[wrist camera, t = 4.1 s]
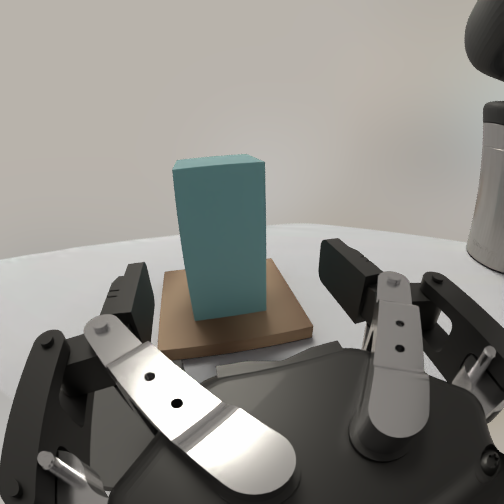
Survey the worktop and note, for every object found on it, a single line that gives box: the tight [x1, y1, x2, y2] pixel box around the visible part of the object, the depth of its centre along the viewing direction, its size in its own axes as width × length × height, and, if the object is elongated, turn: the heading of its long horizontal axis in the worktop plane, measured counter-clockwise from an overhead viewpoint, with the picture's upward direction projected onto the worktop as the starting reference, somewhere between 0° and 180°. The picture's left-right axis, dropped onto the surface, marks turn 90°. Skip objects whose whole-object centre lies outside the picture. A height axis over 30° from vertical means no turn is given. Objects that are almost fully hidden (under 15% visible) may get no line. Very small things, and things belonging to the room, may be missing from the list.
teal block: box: [172, 154, 266, 321], centre depth 18 cm, size 5×5×10 cm
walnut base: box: [158, 258, 313, 360], centre depth 20 cm, size 10×10×5 cm
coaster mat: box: [90, 360, 185, 491], centre depth 11 cm, size 8×8×1 cm
